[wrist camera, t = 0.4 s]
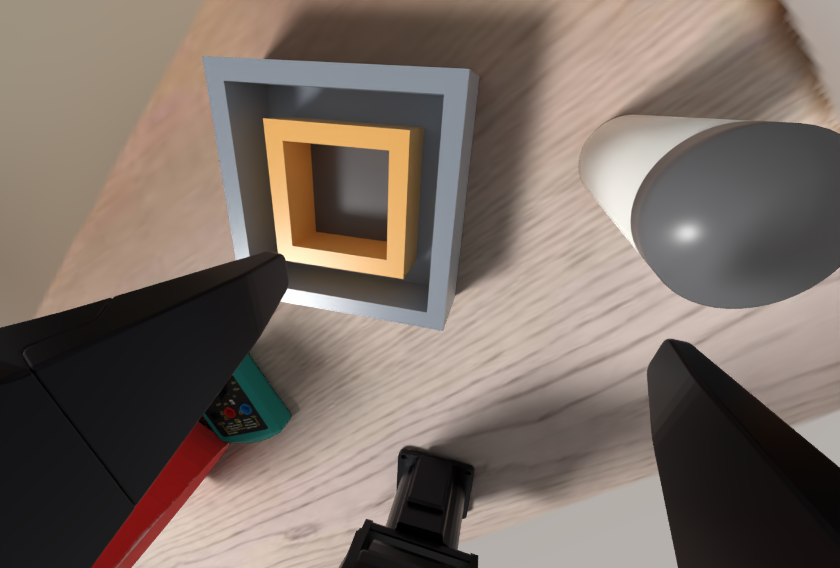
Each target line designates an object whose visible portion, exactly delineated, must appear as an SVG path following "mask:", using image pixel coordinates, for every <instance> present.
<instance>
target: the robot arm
mask: <svg viewBox="0 0 840 568" xmlns="http://www.w3.org/2000/svg"><path fill="white" fill-rule="evenodd" d="M288 285H289V279H288V273H287V266H286V260H285V257H284V256H283V255H282V254H280V253H275V252H270V251H266V252H262V253H259V254H256V255H252V256H249V257H246V258H242V259H239V260H235V261H232V262H229V263H225V264H222V265H219V266H215V267H212V268H209V269H205V270H202V271H199V272H195V273H192V274H189V275H185V276H182V277H178V278H175V279H172V280H168V281H165V282H162V283H158V284H155V285H152V286H148V287H145V288H142V289H138V290H135V291H131V292H128V293H125V294H121V295H118V296H115V297H114V298H113V299H112V298H108V299H104V300H101V301H98V302H94V303H91V304H87V305H84V306H80V307H77V308H73V309H70V310H66V311H63V312H59V313H55V314H52V315H48V316H44V317H40V318H36V319H32V320H29V321H25V322H21V323H17V324H13V325H9V326H5V327H1V328H0V568H92V566H93V565H94V563H95V562H96V561H97V559H98V558H99V557H100V555H101V554H102V553H103V551H104V550H105V548H106V547H107V546H108V544H109V543H110V542H111V540H112V539H113V538H114V536H115V535H116V533H117V532H118V531H119V529H120V528H121V527H122V525H123V524H124V522H125V521H126V520H127V518H128V517H129V516H130V514H131V513H132V512H133V510H134V509H135V505H137V504H138V503H139V502H140V500H141V499H142V497H143V496H144V495H145V493H146V492H147V491H148V489H149V488H150V487H151V485H152V484H153V482H154V481H155V480H156V478H157V477H158V476H159V474H160V473H161V472H162V470H163V469H164V467H165V466H166V465H167V463H168V462H169V461H170V459H171V458H172V456H173V455H174V454H175V452H176V451H177V450H178V448H179V447H180V446H181V444H182V443H183V441H184V440H185V439H186V437H187V436H188V435H189V433H190V432H191V431H192V429H193V428H194V426H195V425H196V424H197V422H198V421H199V420H200V418H201V417H202V415H203V414H204V413H205V411H206V410H207V409H208V407H209V406H210V405H211V403H212V402H213V400H214V399H215V398H216V396H217V395H218V394H219V392H220V391H221V390H222V388H223V387H224V385H225V384H226V383H227V381H228V380H229V379H230V377H231V376H232V374H233V373H234V372H235V370H236V369H237V368H238V366H239V365H240V364H241V362H242V361H243V359H244V358H245V357H246V355H247V354H248V353H249V351H250V350H251V349H252V347H253V346H254V344H255V343H256V342H257V340H258V339H259V337H260V336H261V334H262V332H263V331H264V329H265V327H266V326H267V324H268V322H269V321H270V319H271V317H272V315H273V314H274V312H275V310H276V308H277V307H278V305H279V303H280V301H281V300H282V298H283V296H284V294H285V293H286V291H287V288H288ZM647 382H648V395H649V408H650V422H651V433H652V440H653V446H654V451H655V456H656V461H657V466H658V471H659V476H660V481H661V486H662V491H663V496H664V501H665V506H666V510H667V515H668V521H669V526H670V530H671V535H672V540H673V545H674V550H675V555H676V560H677V565H678V568H840V467H838V466H837V465H836V464H835V463H833V462H832V461H831V460H830V459H829V458H828V457H826V456H825V455H824V454H823V453H822V452H820V451H819V450H818V449H817V448H815V447H814V446H813V445H812V444H811V443H809V442H808V441H807V440H806V439H805V438H803V437H802V436H801V435H800V434H799V433H797V432H796V431H795V430H794V429H793V428H791V427H790V426H789V425H788V424H787V423H785V422H784V421H783V420H782V419H781V418H779V417H778V416H777V415H776V414H775V413H773V412H772V411H771V410H770V409H769V408H767V407H766V406H765V405H764V404H763V403H761V402H760V401H759V400H758V399H757V398H755V397H754V396H753V395H752V394H750V393H749V392H748V391H747V390H746V389H744V388H743V387H742V386H741V385H740V384H738V383H737V382H736V381H735V380H734V379H732V378H731V377H730V376H729V375H728V374H726V373H725V372H724V371H723V370H722V369H720V368H719V367H718V366H717V365H716V364H714V363H713V362H712V361H711V360H710V359H708V358H707V357H706V356H705V355H704V354H702V353H701V352H700V351H699V350H698V349H696V348H695V347H694V346H693V345H692V344H690V343H688V342H684V341H680V340H675V339H666V340H665V341H664V342H663V343H662V345H661V346H660V348H659V349H658V351H657V352H656V354H655V356H654V357H653V359H652V360H651V362H650V364H649V366H648V370H647ZM473 477H474V468H473V467H472V466H471V465H468V464H464V463H460V462H456V461H451V460H447V459H443V458H439V457H435V456H431V455H427V454H423V453H419V452H415V451H411V450H407V449H401V450H400V452H399V455H398V472H397V493H396V496H395V499H394V502H393V505H392V508H391V511H390V514H389V517H388V521H387V524H386V526H383V525H380V524H376V523H373V521H372V520H369V519H366V520H365V522H364V525H363V527H362V528H360V529H359V530H358V531H356V533H355V536H354V539H353V541H352V544H351V546H350V549H349V551H348V553H347V555H346V557H345V558H344V560H343V561H342V563H341V565H340V566H339V568H478V555H475V554H472V553H471V554H468V553H464V552H462V551H459V550H458V543H459V536H460V529H461V522H462V519H465V518H466V516H467V510H468V505H469V499H470V493H471V488H472V482H473Z"/></svg>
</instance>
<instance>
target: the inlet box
mask: <svg viewBox="0 0 840 568" xmlns="http://www.w3.org/2000/svg"><path fill="white" fill-rule="evenodd" d="M202 57H203V64H204V70H205V76H206V82H207V88H208V94H209V100H210V106H211V112H212V118H213V124H214V130H215V136H216V142H217V148H218V155H219V161H220V167H221V173H222V179H223V185H224V191H225V197H226V203H227V209H228V215H229V221H230V227H231V233H232V239H233V245H234V252H235V258H236V260H239V259H242V258H246V257H249V256H252V255H256V254H259V253H262V252H266V251H270V252H275V253H280V254H282V255H283V256H284V257H285V260H286V266H287V273H288V279H289V285H288V288H287V291H286V293H285V294H284V296H283V298H282V300H281V302H286V303H292V304H297V305H303V306H308V307H314V308H319V309H325V310H330V311H336V312H342V313H347V314H353V315H358V316H364V317H369V318H375V319H380V320H386V321H391V322H397V323H402V324H408V325H413V326H419V327H424V328H430V329H436V330H441V331H443V329H444V327H445V324H446V321H447V318H448V315H449V312H450V309H451V306H452V304H453V301H454V298H455V293H456V284H457V275H458V266H459V257H460V248H461V239H462V230H463V222H464V213H465V204H466V195H467V186H468V177H469V168H470V159H471V150H472V142H473V133H474V124H475V115H476V106H477V97H478V88H479V79H480V77H479V76H478V75H477V74H475V73H474V72H473V71H472V70H470V69H462V68H441V67H420V66H399V65H378V64H357V63H336V62H315V61H294V60H273V59H252V58H231V57H210V56H202Z"/></svg>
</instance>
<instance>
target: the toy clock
mask: <svg viewBox="0 0 840 568" xmlns="http://www.w3.org/2000/svg"><path fill="white" fill-rule="evenodd" d="M228 446H229V443H228V442H223V441H222V440H221V439H219V437H218V436H217V435H216V434H215V433H214V432H213V431H211V430H210V429H208V428H207V427H206V426H204V425H203V424H201V423H200V422H197V424H196V425H195V426H194V428H193V429H192V431H191V432H190V433H189V435H188V436H187V437H186V439H185V440H184V441H183V443H182V444H181V446H180V447H179V448H178V450H177V451H176V452H175V454H174V455H173V456H172V458H171V459H170V461H169V462H168V463H167V465H166V466H165V467H164V469H163V470H162V472H161V473H160V474H159V476H158V477H157V478H156V480H155V481H154V482H153V484H152V485H151V487H150V488H149V489H148V491H147V492H146V493H145V495H144V496H143V497H142V499H141V500H140V502H139V503H138V504H137V505H135V509H134V510H133V512H132V513H131V514H130V516H129V517H128V518H127V520H126V521H125V522H124V524H123V525H122V527H121V528H120V529H119V531H118V532H117V533H116V535H115V536H114V538H113V539H112V540H111V542H110V543H109V544H108V546H107V547H106V548H105V550H104V551H103V553H102V554H101V555H100V557H99V558H98V559H97V561H96V562H95V563H94V565H93V566H92V568H131V567H132V566H133V565H134V564H135V563H136V561H137V560H138V559H139V558H140V557H141V555H142V554H143V553H144V552H145V551H146V550H147V548H148V547H149V546H150V545H151V543H152V542H153V541H154V540H155V539H156V537H157V536H158V535H159V534H160V533H161V531H162V530H163V529H164V528H165V527H166V525H167V524H168V523H169V522H170V520H171V519H172V518H173V517H174V516H175V514H176V513H177V512H178V511H179V509H180V508H181V507H182V506H183V505H184V503H185V502H186V501H187V500H188V498H189V497H190V496H191V495H192V493H193V492H194V491H195V490H196V488H197V487H198V486H199V485H200V483H201V482H202V481H203V480H204V478H205V477H206V476H207V475H208V473H209V472H210V471H211V469H212V468H213V467H214V466H215V464H216V463H217V462H218V460H219V459H220V458H221V456H222V455H223V453H224V452H225V451H226V449H227V448H228Z"/></svg>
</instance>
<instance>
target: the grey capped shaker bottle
mask: <svg viewBox="0 0 840 568" xmlns="http://www.w3.org/2000/svg"><path fill="white" fill-rule="evenodd" d="M578 168H579V175H580V179H581V181H582V183H583V185H584V186H585V188H586V189H587V190H588V192H589V193H590V194H591V195H592V196H593V198H594V199H595V200H596V201H597V203H598V204H599V205H600V206H601V207H602V209H603V210H604V211H605V212H606V214H607V215H608V216H609V217H610V218H611V220H612V221H613V222H614V223H615V225H616V226H617V227H618V228H619V229H620V231H621V232H622V233H623V234H624V236H625V237H626V238H627V239H628V240H629V242H630V243H631V244H632V245H633V247H634V248H635V249H636V250H637V251H638V253H639V254H640V255H641V256H642V258H643V259H644V260H645V261H646V262H647V264H648V265H649V266H650V267H651V269H652V270H653V271H654V272H655V273H656V275H657V276H658V277H659V278H660V280H661V281H662V282H663V283H664V284H665V285H666V286H667V287H668V288H670V289H671V290H672V291H673V292H675V293H676V294H678V295H679V296H681V297H683V298H685V299H687V300H689V301H692V302H695V303H698V304H701V305H705V306H710V307H714V308H725V309H742V308H752V307H758V306H764V305H769V304H772V303H776V302H779V301H782V300H785V299H788V298H790V297H793V296H795V295H798V294H800V293H802V292H804V291H806V290H808V289H810V288H811V287H813V286H815V285H816V284H818V283H820V282H821V281H823V280H824V279H825V278H827V277H828V276H829V275H831V274H832V273H833V272H835V271H836V270H837V269H838V268H839V267H840V134H839V133H837V132H834V131H832V130H830V129H827V128H823V127H820V126H816V125H810V124H802V123H787V122H768V121H749V120H730V119H710V118H691V117H672V116H653V115H624V116H620V117H616V118H614V119H611V120H609V121H607V122H606V123H604V124H603V125H601V126H600V127H598V128H597V129H596V130H595V131H594V132H593V133H592V134H591V135H590V137H589V138H588V139H587V141H586V142H585V144H584V146H583V148H582V150H581V153H580V157H579V166H578Z"/></svg>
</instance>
